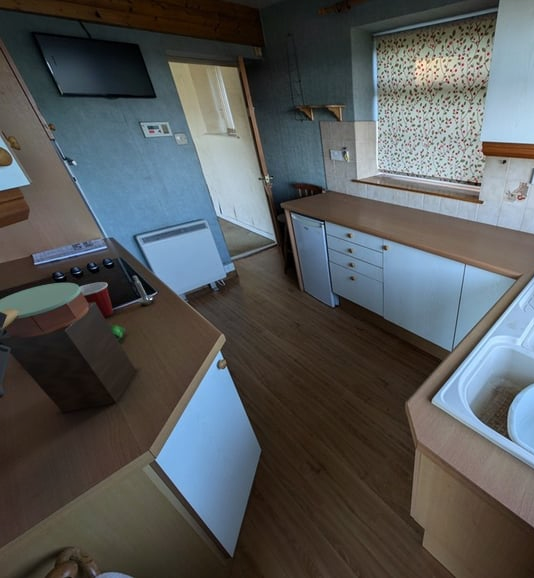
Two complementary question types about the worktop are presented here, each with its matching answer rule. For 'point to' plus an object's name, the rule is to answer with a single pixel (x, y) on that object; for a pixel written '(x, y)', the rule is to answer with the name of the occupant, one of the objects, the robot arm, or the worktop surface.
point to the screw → (142, 292)
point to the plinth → (71, 355)
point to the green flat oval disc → (37, 300)
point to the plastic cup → (98, 296)
